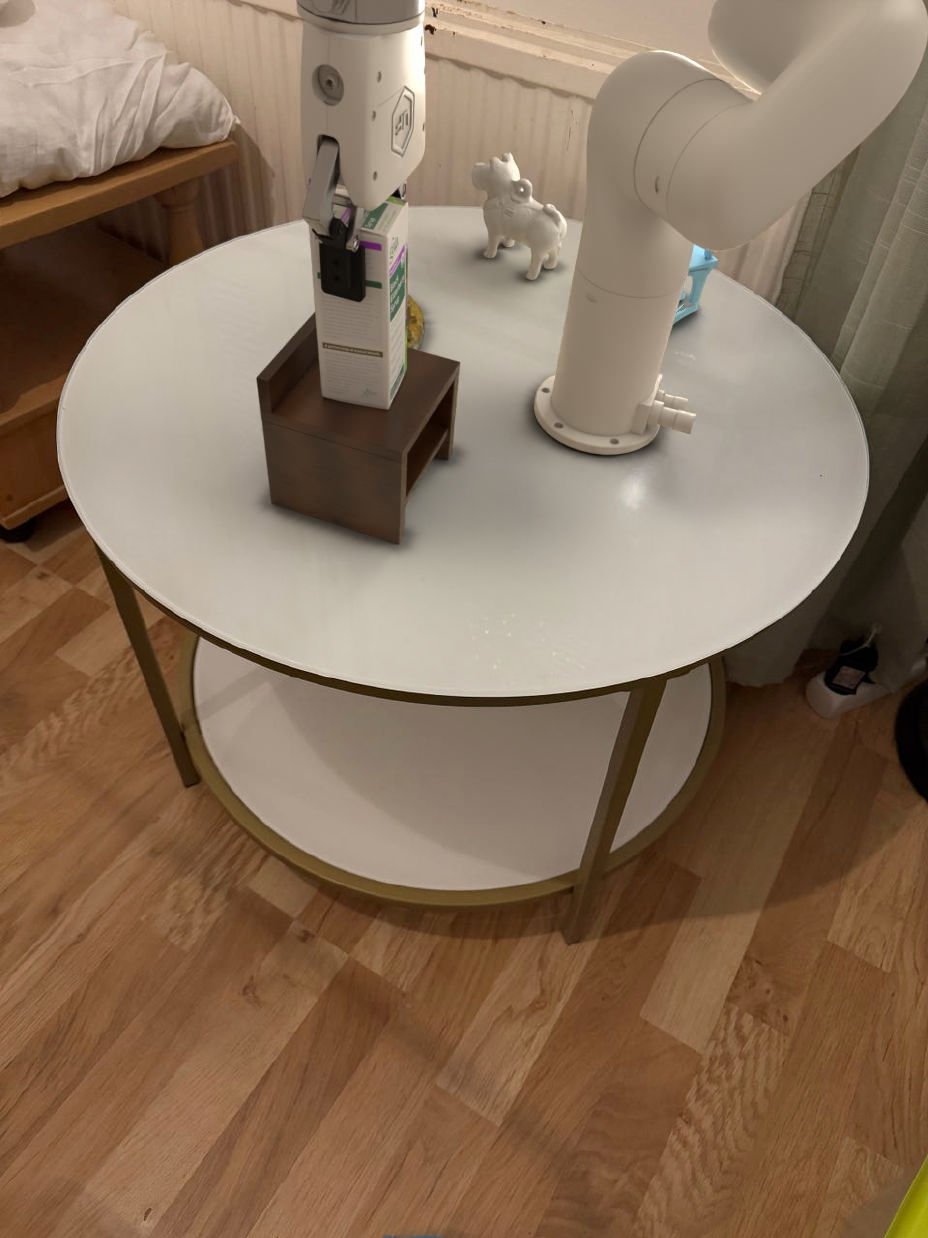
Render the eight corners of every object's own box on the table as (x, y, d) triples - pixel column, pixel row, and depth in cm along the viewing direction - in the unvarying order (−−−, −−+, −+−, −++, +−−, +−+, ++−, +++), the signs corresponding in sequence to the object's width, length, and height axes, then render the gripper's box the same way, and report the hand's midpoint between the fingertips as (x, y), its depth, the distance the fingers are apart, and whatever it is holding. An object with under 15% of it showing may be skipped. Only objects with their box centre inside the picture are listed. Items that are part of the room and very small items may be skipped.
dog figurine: (483, 229, 112) (492, 139, 104) (566, 269, 107) (582, 177, 99) (455, 243, 109) (462, 152, 101) (540, 285, 104) (554, 192, 96)
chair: (710, 320, 102) (744, 216, 93) (651, 335, 99) (680, 230, 90) (670, 286, 107) (698, 183, 97) (612, 299, 104) (635, 195, 94)
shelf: (452, 453, 84) (463, 330, 74) (399, 544, 76) (403, 420, 66) (335, 418, 86) (330, 293, 76) (270, 503, 78) (255, 377, 68)
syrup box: (390, 412, 72) (392, 235, 60) (318, 398, 72) (307, 220, 61) (407, 370, 75) (412, 197, 64) (338, 358, 76) (332, 183, 64)
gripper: (359, 43, 46) (362, 347, 60) (471, -43, 57) (452, 232, 71) (228, 14, 47) (260, 319, 61) (362, -65, 58) (364, 209, 72)
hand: (363, 270), depth 66 cm, fingers closed on syrup box, 6 cm apart
